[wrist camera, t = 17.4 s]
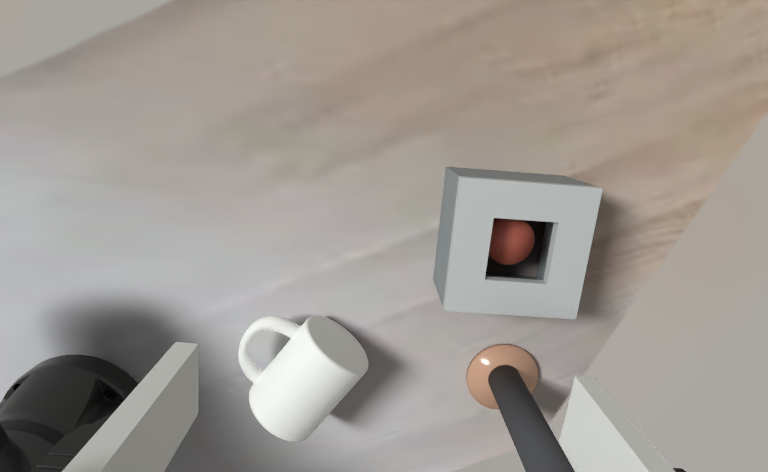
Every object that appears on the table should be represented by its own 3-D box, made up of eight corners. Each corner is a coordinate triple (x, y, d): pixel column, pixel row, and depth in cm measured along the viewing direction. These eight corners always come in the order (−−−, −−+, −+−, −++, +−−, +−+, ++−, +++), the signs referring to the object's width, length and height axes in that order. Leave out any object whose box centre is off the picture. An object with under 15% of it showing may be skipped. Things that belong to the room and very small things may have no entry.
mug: (370, 345, 50) (369, 387, 42) (316, 406, 52) (305, 457, 44) (281, 281, 48) (263, 313, 40) (228, 348, 50) (202, 390, 42)
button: (475, 253, 45) (482, 263, 43) (481, 209, 44) (489, 215, 41) (520, 256, 46) (530, 266, 43) (527, 212, 44) (538, 219, 42)
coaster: (462, 404, 52) (463, 407, 51) (471, 341, 50) (472, 344, 49) (530, 407, 52) (532, 411, 52) (541, 346, 50) (544, 348, 50)
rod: (486, 392, 51) (530, 501, 36) (490, 363, 50) (537, 464, 36) (517, 393, 51) (573, 503, 37) (522, 365, 50) (582, 467, 36)
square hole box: (433, 279, 48) (444, 310, 40) (446, 166, 45) (461, 177, 37) (543, 287, 48) (575, 319, 41) (563, 175, 45) (602, 188, 38)
